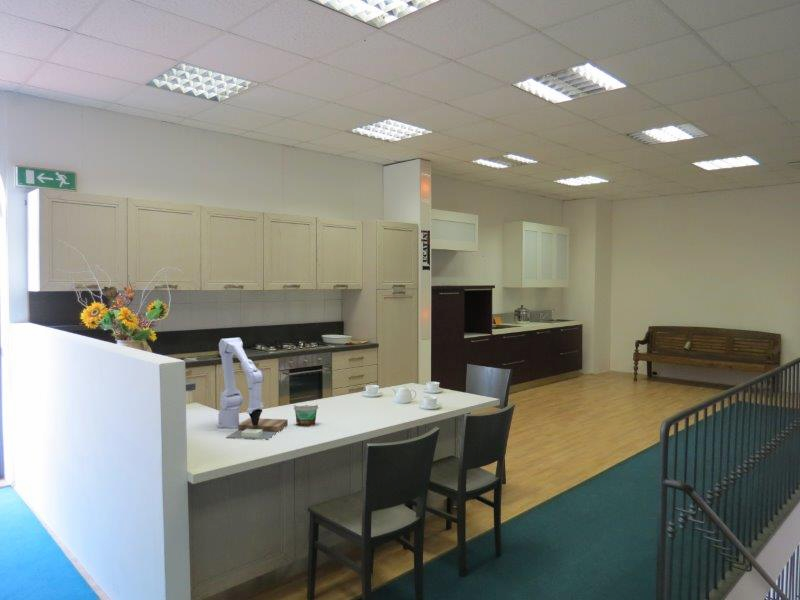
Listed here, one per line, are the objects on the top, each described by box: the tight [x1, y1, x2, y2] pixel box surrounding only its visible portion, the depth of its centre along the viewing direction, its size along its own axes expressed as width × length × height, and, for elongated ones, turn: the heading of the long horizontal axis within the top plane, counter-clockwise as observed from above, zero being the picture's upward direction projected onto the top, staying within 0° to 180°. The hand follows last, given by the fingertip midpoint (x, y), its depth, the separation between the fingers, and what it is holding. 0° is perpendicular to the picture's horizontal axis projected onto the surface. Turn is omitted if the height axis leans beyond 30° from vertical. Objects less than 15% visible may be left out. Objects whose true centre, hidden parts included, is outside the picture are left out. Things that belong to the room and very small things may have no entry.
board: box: [237, 417, 288, 433], centre depth 275 cm, size 20×14×3 cm
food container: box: [293, 404, 319, 427], centre depth 281 cm, size 12×6×10 cm, turn 101°
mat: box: [226, 429, 278, 441], centre depth 262 cm, size 20×12×1 cm, turn 82°
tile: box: [241, 429, 263, 437], centre depth 261 cm, size 8×6×2 cm
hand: (255, 425), depth 265 cm, fingers closed
